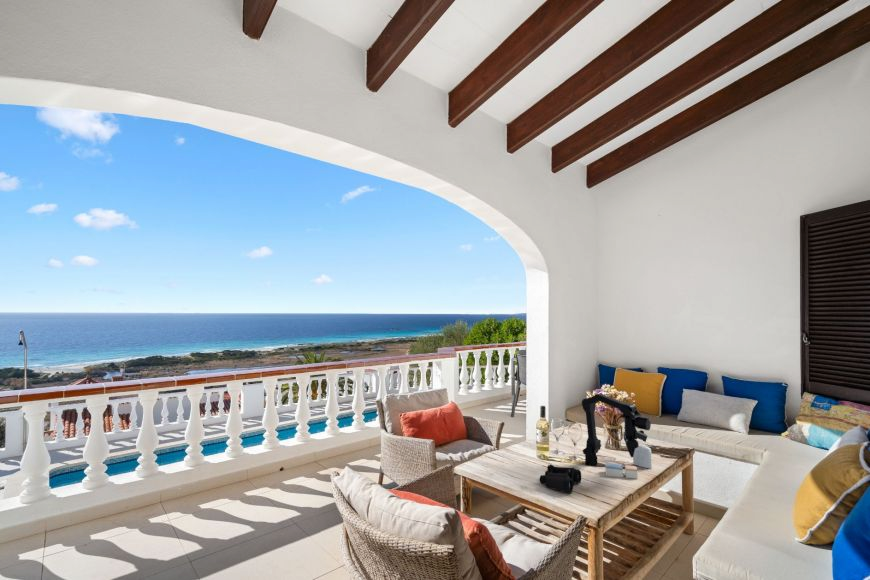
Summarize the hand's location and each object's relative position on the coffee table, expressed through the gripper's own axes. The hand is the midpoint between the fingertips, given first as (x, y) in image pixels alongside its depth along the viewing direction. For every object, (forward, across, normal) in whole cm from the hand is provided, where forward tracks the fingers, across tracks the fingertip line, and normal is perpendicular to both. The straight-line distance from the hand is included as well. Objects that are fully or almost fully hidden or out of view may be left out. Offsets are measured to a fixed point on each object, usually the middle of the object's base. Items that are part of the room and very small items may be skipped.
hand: (631, 454), depth 231 cm
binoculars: (+12, -24, +38) cm, 46 cm away
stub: (+12, -1, 0) cm, 12 cm away
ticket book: (+12, 0, +9) cm, 15 cm away
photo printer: (+12, +18, -8) cm, 23 cm away
